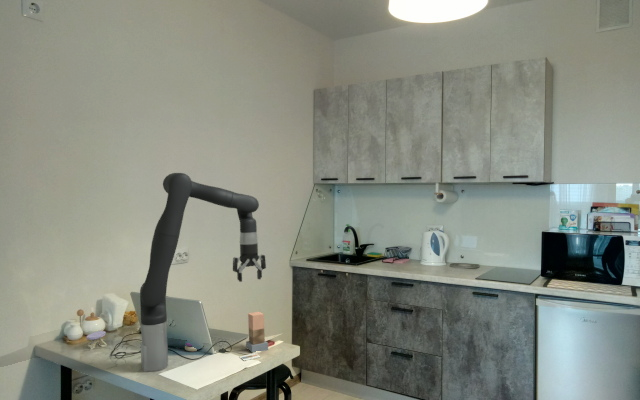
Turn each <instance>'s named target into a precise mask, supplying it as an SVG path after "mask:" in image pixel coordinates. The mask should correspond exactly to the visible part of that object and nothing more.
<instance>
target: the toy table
mask: <svg viewBox="0 0 640 400" xmlns="http://www.w3.org/2000/svg"><path fill="white" fill-rule="evenodd" d="M105 335H106V331H104V330H99V331H95V332H91V333H89V334H88V335H86V340H88V341H89V342H88V343H87V344H86V346H87V345H91V347H89V349H90V348H93V347H95V348H96V344H98V343H99V344H100V345H107V346H108V344H107V343H106V342H105V341H104V340H103V338H102V337H105ZM100 345H99V346H100Z"/></svg>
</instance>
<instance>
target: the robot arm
mask: <svg viewBox="0 0 640 400" xmlns="http://www.w3.org/2000/svg"><path fill="white" fill-rule="evenodd" d="M162 187H163V189H164V191H165V192H166V193H167V198H166V204H165V207H164V210H163V211H162V214H161V216H160V217H159V219H158V221H157V223H156V226H155V229H154V232H153V236H152V241H151V247H150V255H149V266H148V271H147V274H146V278H145V281H144V282H143V283H142V284H141V287H140V290H139V301H140V302H139V304H140V305H139V306H140V325H141V326H140V329H141V330H140V331H141V332H140V333H141V335H140V336H141V342H140V358H141V360H140V361H141V362H140V363H141V368H142V370H143V372H144V373H145V372H156V371H161V370H163V369H166V368H167V367H168V366H169V349H168V323H167V322H168V321H167V319H168V317H167V316H168V315H167V301H166V299H167V298H166V296H167V287H168V281H169V279H168V278H169V272H170V269H171V266H172V264H173V260H174V257H175V254H176V250H177V248H178V243H179V239H180V236H181V233H180V232H181V229H182V224H183V220H184V213H185V211H186V206H187V203H188V201H189V198H194V199H197V200H201V201H204V202H207V203H210V204H213V205H217V206H221V207H224V208H228V209H236V212H237V217H238V219H239V220H238V221H239V232H240V233H239V252H240V253H239V254H240V256H239V257H235V256H234V257H233V258H232V271H233V272H234V273H236V274H237V276H236V278H237V281H238V282H240V283H241V282H243V273H242V272H243V270H244V269H245V268H246V267H247V268H248V267H255V268H256V269H257V271H256V273H257V275H256V276H257V277H256V278H257V280H261V279H262V277H263V275H262V274H263V270H265V269H267V264H266V255H264V254H260V255H259V248H258V247H259V246H258V244H259V242H258V241H259V239H258V233H257V232H258V231H257V229H258V227H257V220H256V218H254V217H253V213H254V212H256V211H257V210H258V209H259V206H260V204H259V201H258V199H257V198H256V197H254V196H252V195H249V194H243V193H239V192H235V191H231V190H227V189H225V188H222V187H218V186H211V185H207V184H203V183H199V182H196V181H193V180H192V179H191V177H190V176H189V175H188V174H186V173H183V172H172V173H169V174H168V175H166V176H165V178H164V179H163V181H162ZM258 260H260V264H259V262H258ZM240 262H241V263H240ZM238 263H240V264H239V265H238Z"/></svg>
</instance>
